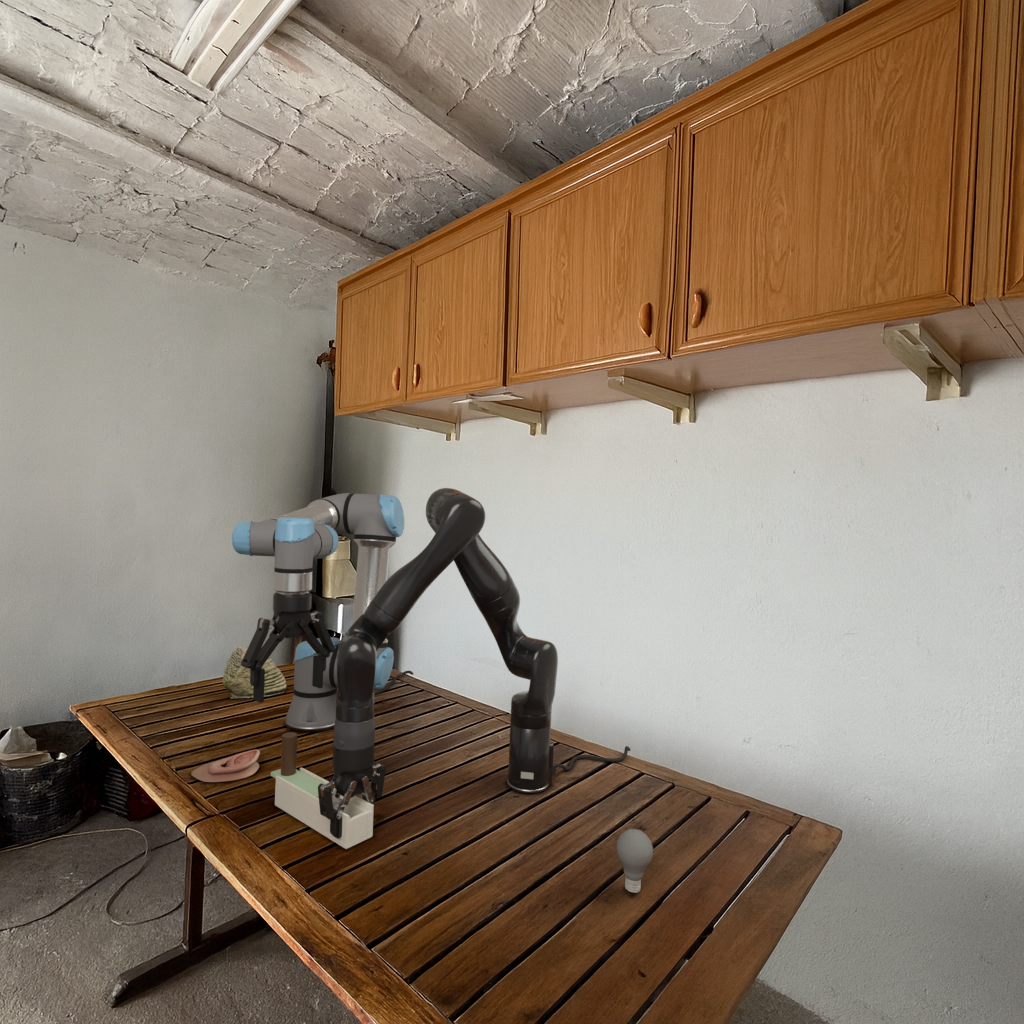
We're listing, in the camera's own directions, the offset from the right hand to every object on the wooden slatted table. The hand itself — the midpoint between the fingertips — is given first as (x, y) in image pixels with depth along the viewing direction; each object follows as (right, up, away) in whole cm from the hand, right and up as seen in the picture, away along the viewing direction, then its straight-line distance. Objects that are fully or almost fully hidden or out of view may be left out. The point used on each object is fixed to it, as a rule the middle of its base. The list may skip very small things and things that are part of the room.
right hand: (351, 829), depth 118 cm
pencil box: (-7, -1, +6) cm, 10 cm away
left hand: (-16, +22, +13) cm, 30 cm away
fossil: (-51, +2, +80) cm, 95 cm away
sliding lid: (-13, +4, +10) cm, 17 cm away
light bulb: (+50, -4, -13) cm, 52 cm away
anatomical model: (-35, 0, +25) cm, 43 cm away
